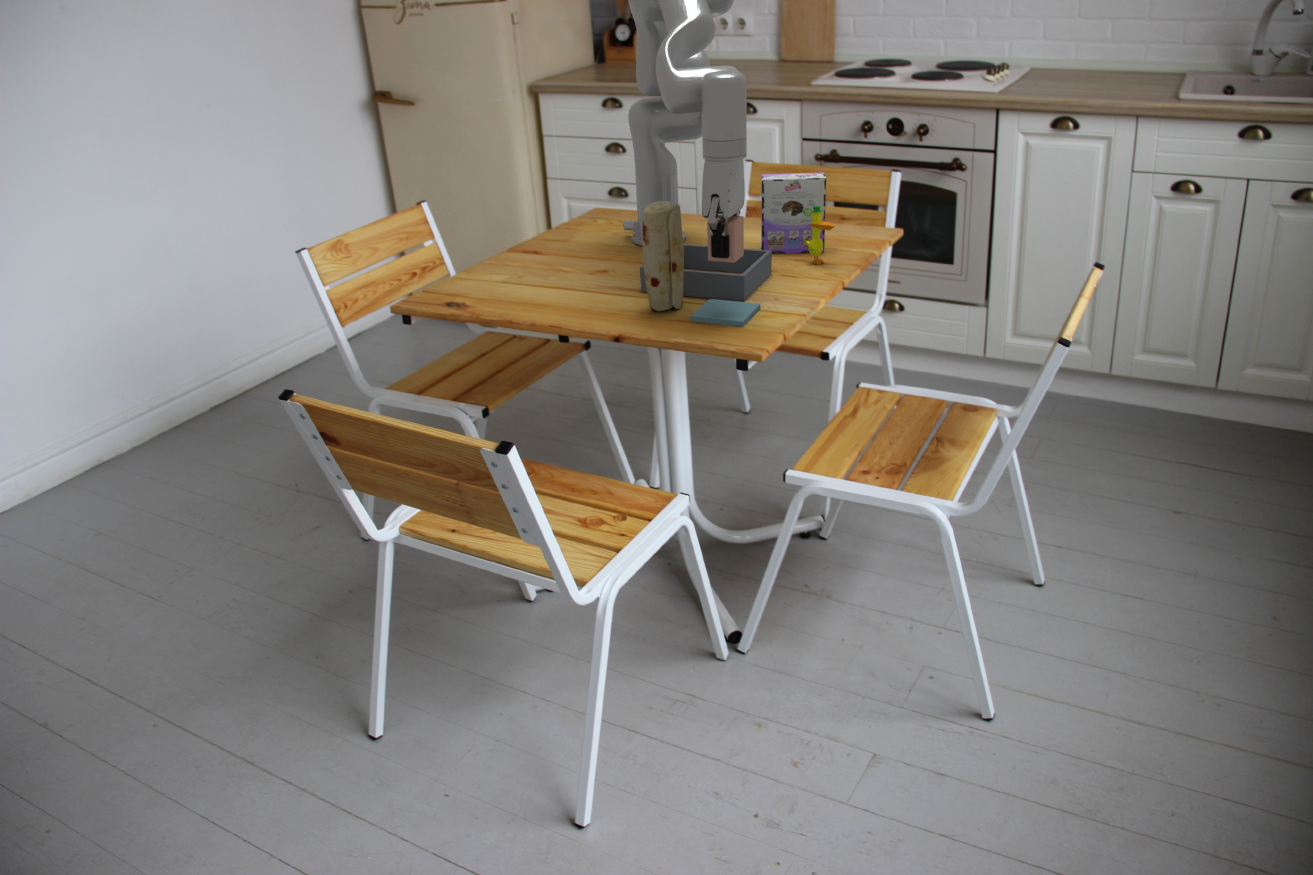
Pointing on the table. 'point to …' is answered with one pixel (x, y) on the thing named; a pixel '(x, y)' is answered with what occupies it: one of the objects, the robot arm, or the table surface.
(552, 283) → the table surface
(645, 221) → the food model
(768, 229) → the candy box
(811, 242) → the toy figure
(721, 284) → the crate
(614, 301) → the table surface
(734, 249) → the block
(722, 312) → the pad
